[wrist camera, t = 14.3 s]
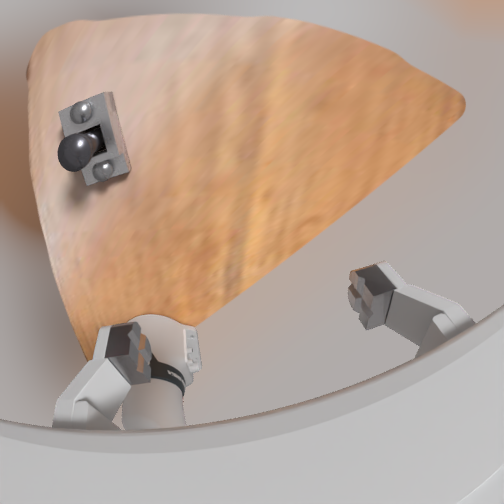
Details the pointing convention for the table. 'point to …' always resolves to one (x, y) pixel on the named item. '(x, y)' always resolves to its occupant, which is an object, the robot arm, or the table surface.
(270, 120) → the table surface
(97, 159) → the slotted ball-knob block
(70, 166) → the pin
